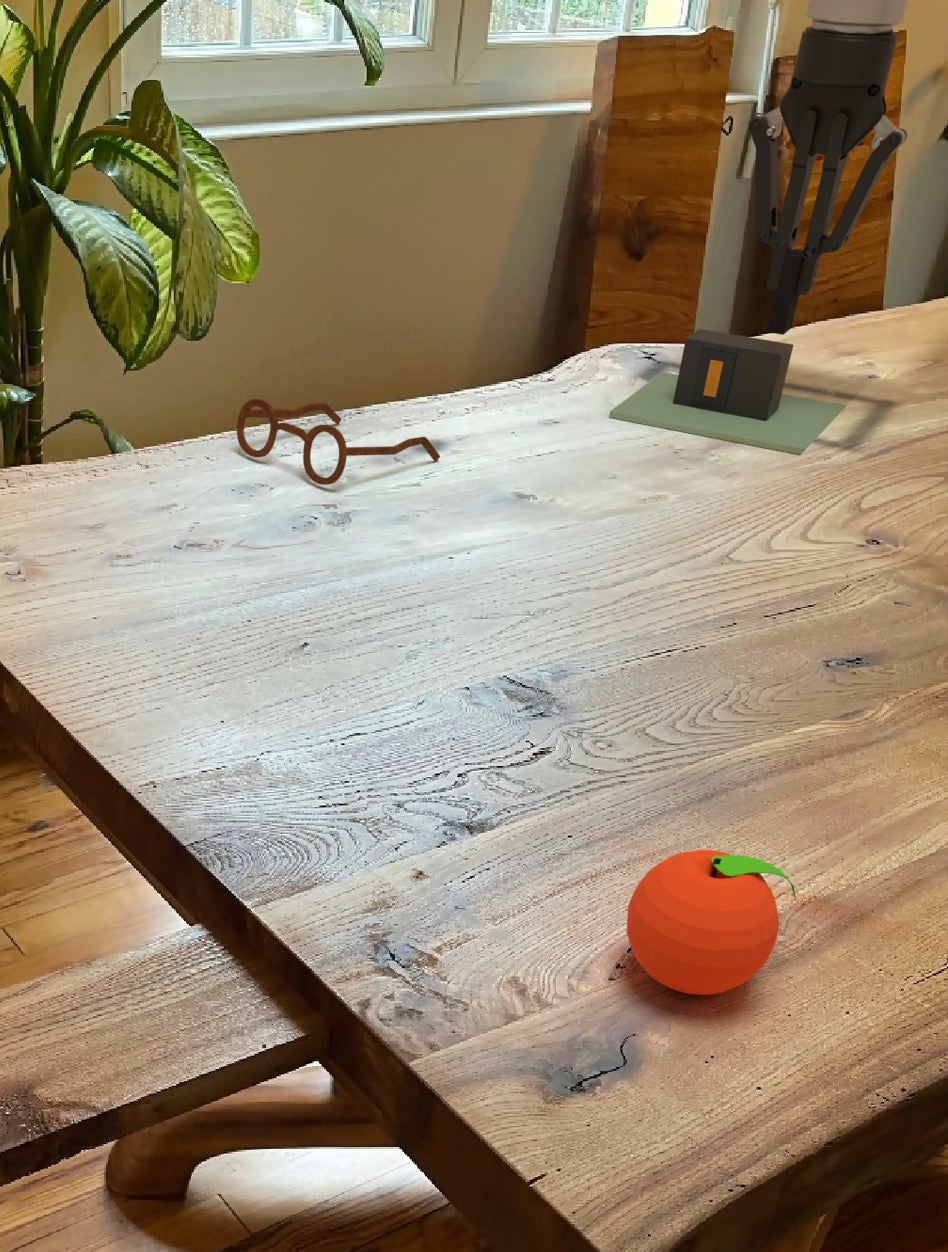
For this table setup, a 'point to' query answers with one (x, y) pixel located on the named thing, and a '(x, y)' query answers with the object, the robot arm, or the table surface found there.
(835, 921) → the table surface
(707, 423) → the mat
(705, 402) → the clock
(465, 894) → the table surface
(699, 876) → the clementine
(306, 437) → the glasses
